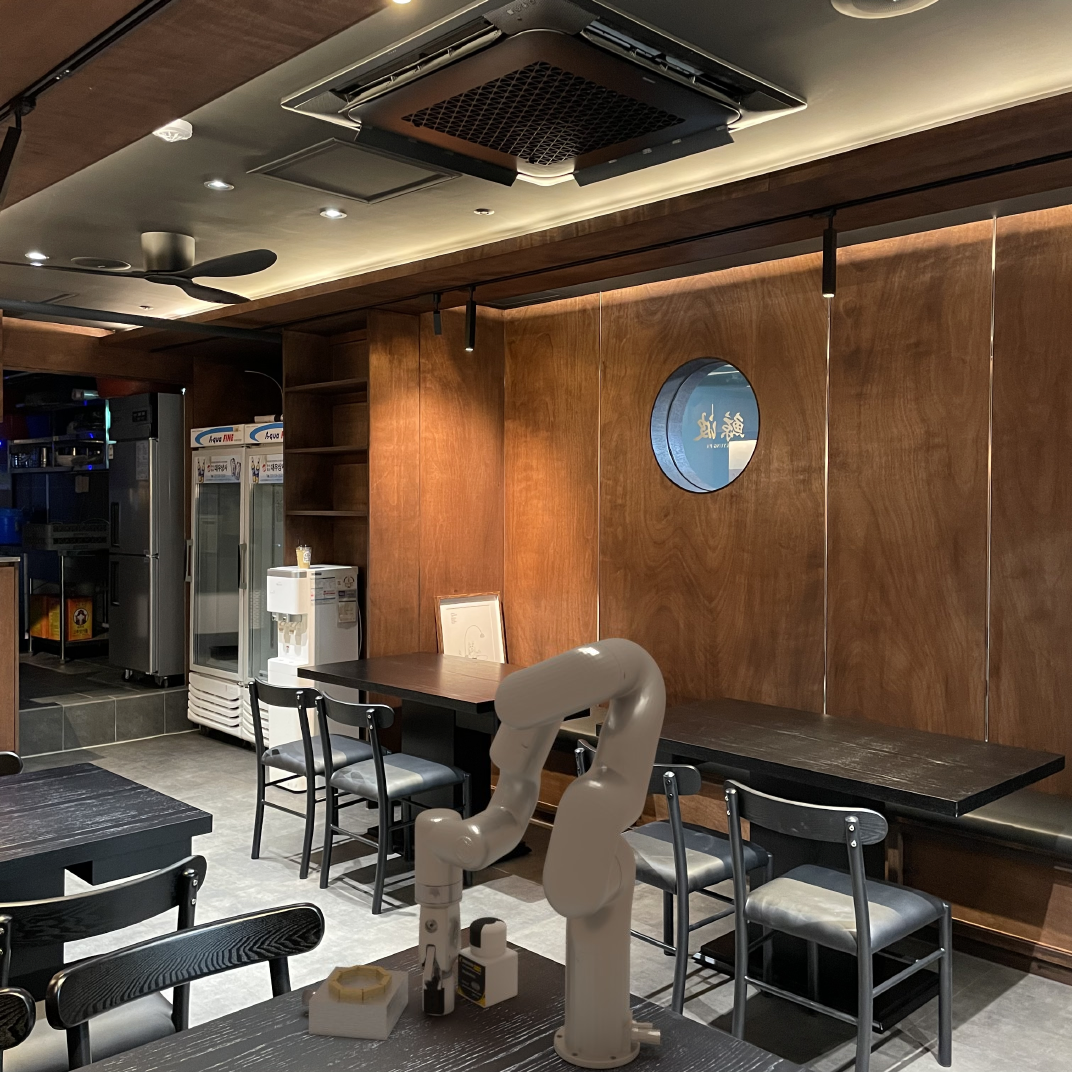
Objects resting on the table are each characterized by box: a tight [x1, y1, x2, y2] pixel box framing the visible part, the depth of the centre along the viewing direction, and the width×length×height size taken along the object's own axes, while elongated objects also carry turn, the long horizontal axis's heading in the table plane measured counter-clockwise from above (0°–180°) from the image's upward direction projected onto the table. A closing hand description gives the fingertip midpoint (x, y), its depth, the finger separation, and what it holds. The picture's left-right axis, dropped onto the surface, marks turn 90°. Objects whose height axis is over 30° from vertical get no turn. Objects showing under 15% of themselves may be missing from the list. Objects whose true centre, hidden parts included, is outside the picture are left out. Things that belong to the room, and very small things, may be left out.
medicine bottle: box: [457, 916, 519, 1009], centre depth 164 cm, size 7×7×12 cm
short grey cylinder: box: [422, 964, 455, 1016], centre depth 159 cm, size 5×5×6 cm
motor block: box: [301, 964, 409, 1041], centre depth 156 cm, size 15×12×6 cm
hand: (438, 1003), depth 159 cm, fingers closed on short grey cylinder, 5 cm apart
